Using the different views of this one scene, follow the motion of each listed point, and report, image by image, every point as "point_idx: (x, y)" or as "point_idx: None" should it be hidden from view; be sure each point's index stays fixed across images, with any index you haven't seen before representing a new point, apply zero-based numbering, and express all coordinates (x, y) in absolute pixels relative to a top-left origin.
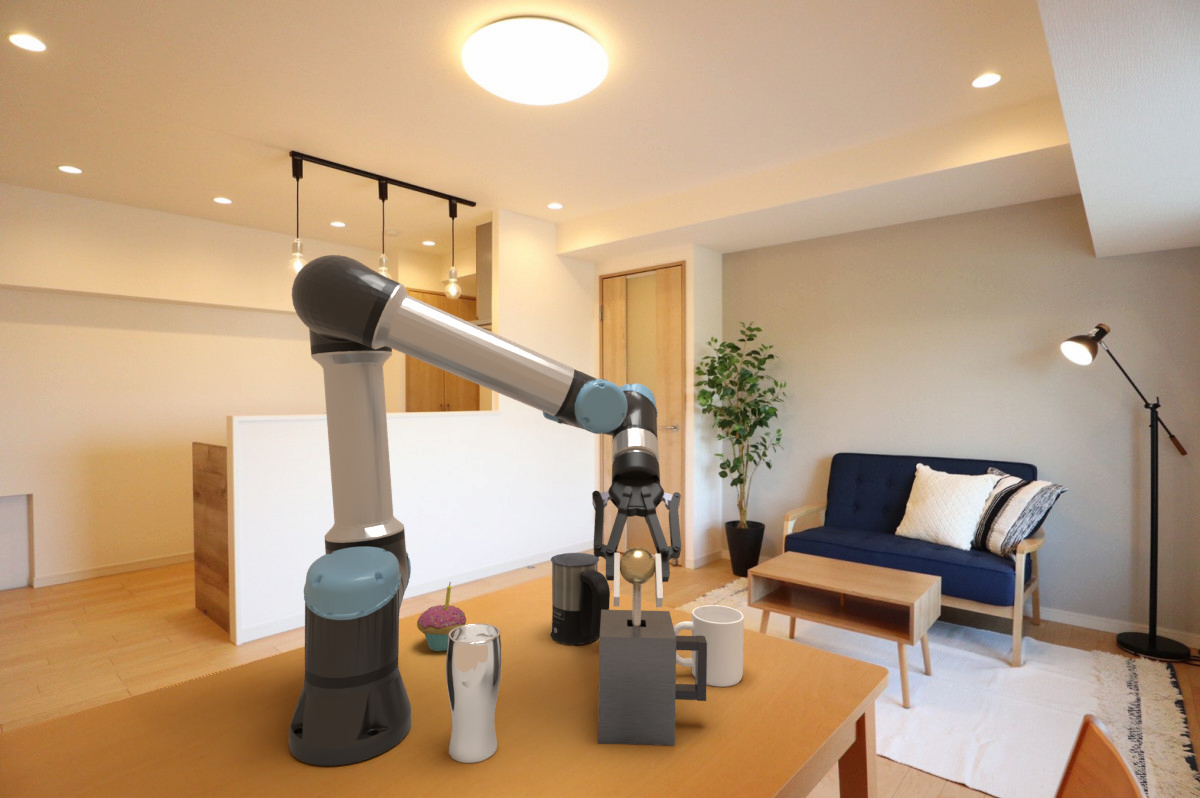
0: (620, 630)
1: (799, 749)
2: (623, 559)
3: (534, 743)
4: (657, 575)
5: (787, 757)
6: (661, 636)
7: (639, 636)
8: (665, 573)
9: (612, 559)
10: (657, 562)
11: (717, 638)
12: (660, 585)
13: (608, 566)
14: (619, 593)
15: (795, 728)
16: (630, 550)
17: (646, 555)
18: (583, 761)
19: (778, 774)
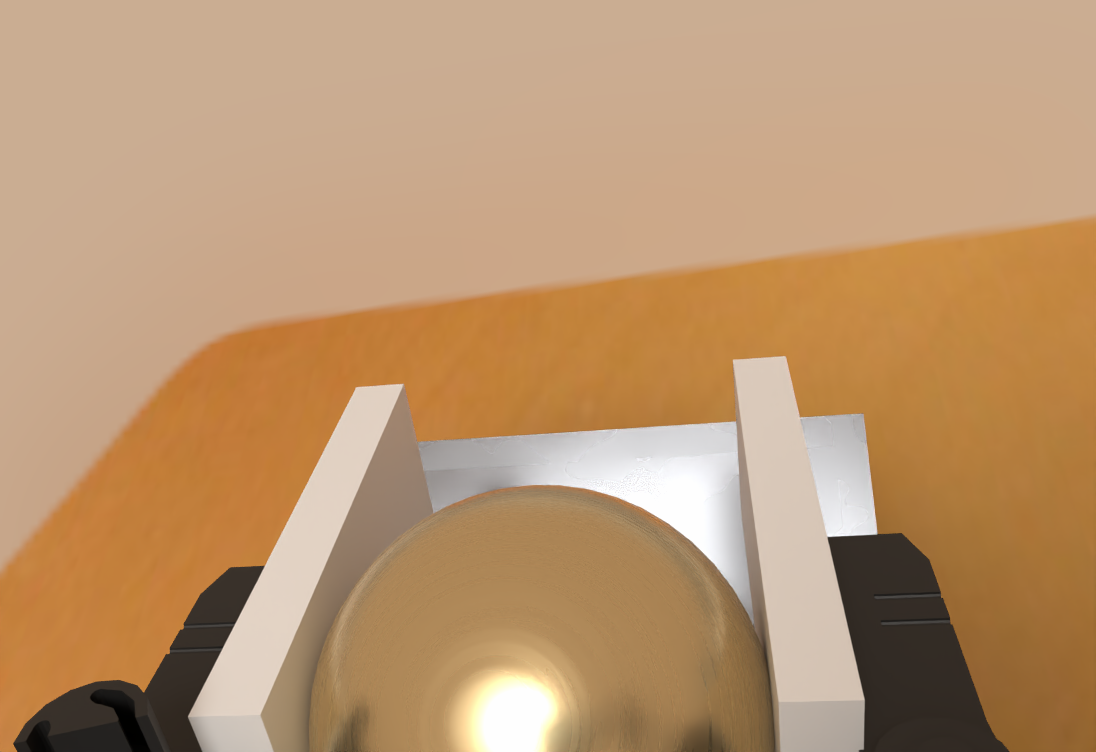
0: (726, 541)
1: (55, 553)
2: (714, 603)
3: (1078, 493)
4: (337, 511)
5: (113, 499)
6: (447, 470)
7: (591, 453)
8: (245, 590)
9: (877, 689)
10: (281, 623)
11: None
12: (341, 451)
13: (910, 615)
14: (735, 375)
15: (14, 700)
16: (609, 661)
17: (390, 589)
18: (846, 396)
19: (174, 400)
